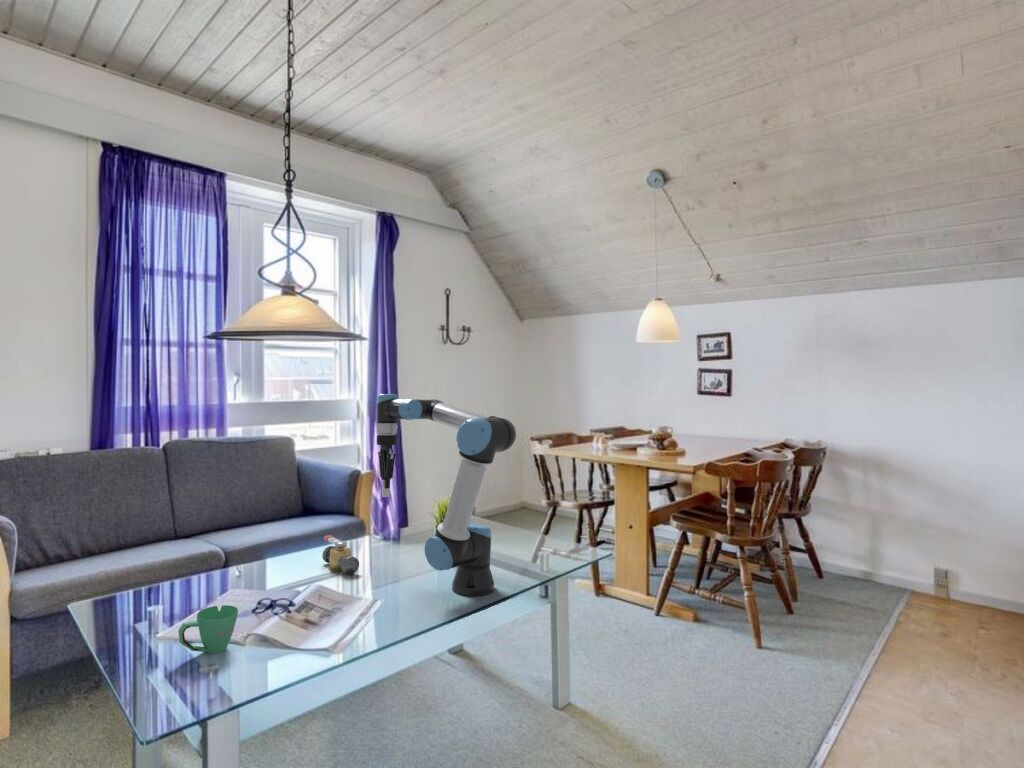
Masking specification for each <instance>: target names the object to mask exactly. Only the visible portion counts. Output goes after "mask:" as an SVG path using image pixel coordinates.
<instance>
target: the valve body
mask: <svg viewBox="0 0 1024 768" xmlns="http://www.w3.org/2000/svg"><path fill="white" fill-rule="evenodd" d="M321 556H322V560H323V561H324V562H325V563H327V564H329V569H328V570H329V571H330V572H331V571H332V573H344V574H345V575H347V576H351V575H354V574H355V573H357V572H358V570H359V568H360V561H359V559H358V558H357V557H356V556H352V548H351V547H348V546H347V547H344V548H337V547H335V545H329V546H327V547H326V548H325V549H324V550H323V551H322V554H321Z"/></svg>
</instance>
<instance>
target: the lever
mask: <svg viewBox="0 0 1024 768" xmlns="http://www.w3.org/2000/svg"><path fill="white" fill-rule="evenodd" d="M323 541H325V542H329V543H331V545H333V546H334V547H336V548H344V547H347V548H348V542H347V541H345V540H343V541H342V540H340V539H338V538H336V537H334V535H331V534H330V535H329V534H328V535H324V536H323Z"/></svg>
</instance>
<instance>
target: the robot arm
mask: <svg viewBox="0 0 1024 768" xmlns="http://www.w3.org/2000/svg"><path fill="white" fill-rule="evenodd" d="M376 406H377V407H376V416H377V417H376V421H377V423H376V434H377V435H376V445H378V446H380V450H379V451H378V453H377V454H378V463H379V466H378V467H379V477H380V478H381V498H390V497H391V480H392V479H393V477H394V467H395V465H394V464H395V459H396V453H394V449H393V446H396V445H398V435H397V433H398V428H399V425H398V420H407V421H409V420H410V421H412V420H430V421H433V422H436V423H439V424H442V425H444V426H448V427H451V428H453V429H457V432H456V442H457V449H458V450H459V451H458V454H459V457H460V458H461V461H460V465H459V467H458V470H457V474H456V477H455V482H454V485H453V487H452V491H451V495H450V497H449V502H448V506H447V509H446V511H445V515H444V519H443V521H442V522H440V523H439V524H437V527H436V530H435V533H434V535H431V536H429V537H428V538H427V540H426V541H425V544H424V556H425V557H426V560H427V563H428V564H429V565H430V566H431V568H433V569H434V570H436V571H439V572H440V571H449V570H451V569H453V568H456V571H455V574H454V577H453V580H452V583H451V590H452V591H453V592H454V593H455V594H458V595H462V596H468V597H479V596H485V595H489V594H491V593H493V592H494V591H495V582H494V578H493V575H492V570H491V551H492V550H491V547H492V546H491V545H492V530H491V528H490V527H489V526H486V525H483V524H477V523H471V519H472V516H473V512H474V509H475V507H476V503H477V499H478V497H479V492H480V489H481V487H482V483H483V478H484V475H485V473H486V470H487V467H488V466H489V465H492V464H493V462H494V459H495V455H496V453H502V452H506V451H507V450H509V449H510V448H512V447H513V445H514V444H515V442H516V438H517V430H516V428H515V425H514V424H513V423H512V422H511V421H510V420H508V419H507V418H503V417H498V416H494V415H490V416H485V415H483V414H478V413H476V412H473V411H469V410H467V409H463V408H459V407H456V406H453V405H449V404H447V403H444V402H443V401H442V400H438V399H435V398H434V399H433V398H432V399H415V398H404V399H403V398H401V399H399V398H398V395H397V394H395V393H388V394H387V393H379V394H378V396H377V403H376Z"/></svg>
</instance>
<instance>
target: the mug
mask: <svg viewBox="0 0 1024 768" xmlns="http://www.w3.org/2000/svg"><path fill="white" fill-rule="evenodd" d="M238 614H239V608H238V607H236V606H233V605H229V604H228V605H226V604H225V605H224V604H222V605H221V607H220V610H219V608H218V605H214V606H209V607H205V608H204V609H201V610H199V611H198V612H197V613H196V620H190V621H186V622H183V623H182V624H181V626H180V627H179V628H178V638H179V639H178V640H179V643H180V644H181V645H182V646H185V647H186V648H188V649H189V650H190V651H192V652H203V653H206V654H208V655H209V654H211V655H213V654H214V655H215V654H221V653H223V652H225V651H226V650H227V648H228V646H229V643H230V642H231V639H232V635H233V632H234V630H235V625H236V622H237V619H238ZM194 627H197V628H198V631H199V636H200V637H199V638H200V640H201V643H202V646H197V645H192V644H191V643H190V642H188V641H187V639H186V637H185V636H186V635H185V631H186V630H187V629H190V628H194Z"/></svg>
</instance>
